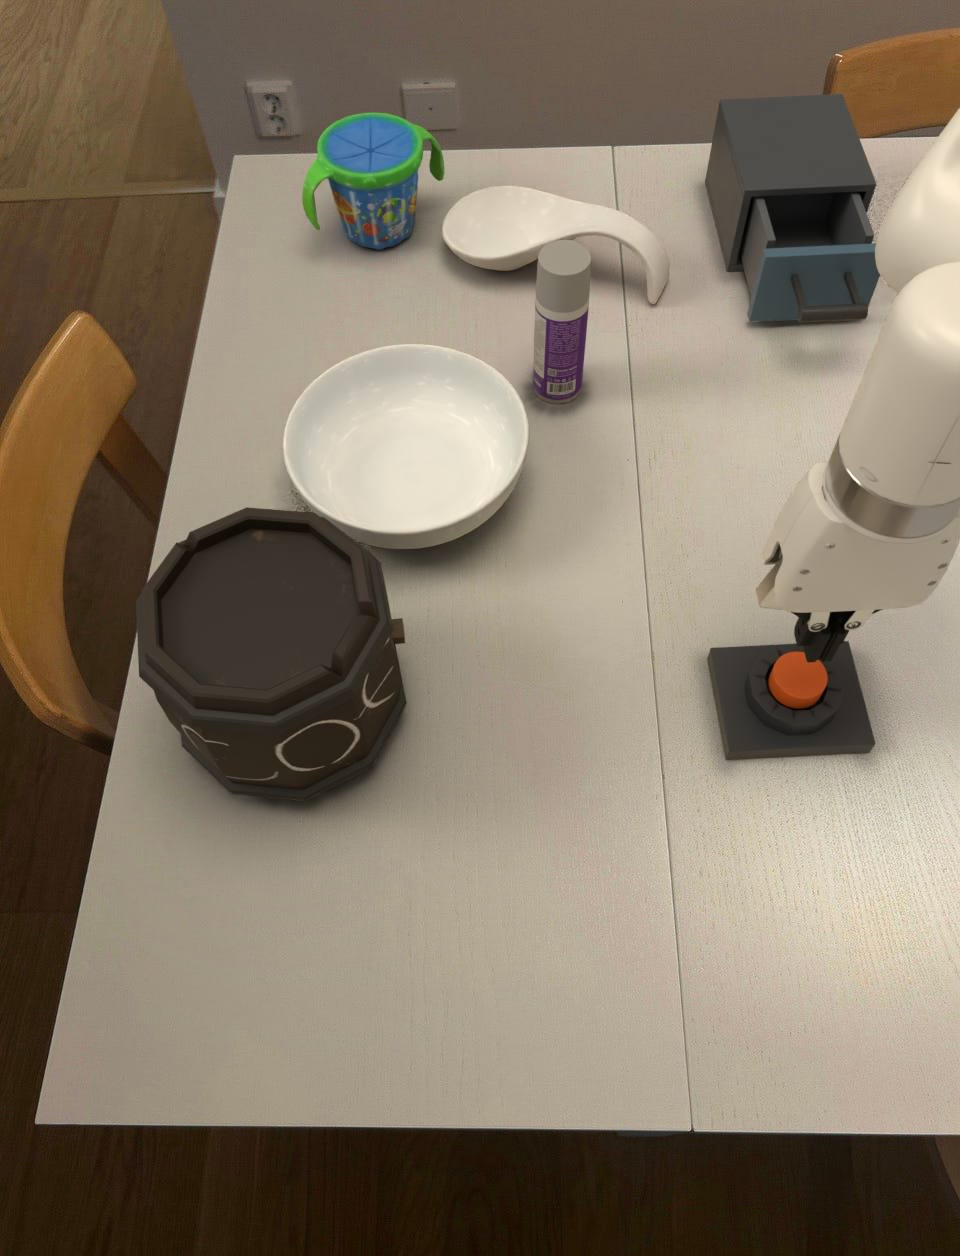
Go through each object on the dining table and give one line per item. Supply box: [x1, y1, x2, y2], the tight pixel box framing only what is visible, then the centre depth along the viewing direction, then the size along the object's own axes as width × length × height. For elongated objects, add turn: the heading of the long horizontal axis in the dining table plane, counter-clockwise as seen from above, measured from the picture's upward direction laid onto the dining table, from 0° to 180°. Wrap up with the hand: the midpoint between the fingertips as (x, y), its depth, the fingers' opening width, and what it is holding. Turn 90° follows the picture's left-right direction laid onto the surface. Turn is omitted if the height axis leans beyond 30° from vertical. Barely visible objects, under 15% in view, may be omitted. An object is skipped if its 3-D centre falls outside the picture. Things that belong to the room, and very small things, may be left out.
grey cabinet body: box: [704, 93, 877, 272], centre depth 109 cm, size 15×13×10 cm
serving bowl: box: [282, 343, 530, 550], centre depth 92 cm, size 21×21×7 cm
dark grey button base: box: [706, 640, 876, 761], centre depth 82 cm, size 11×9×4 cm
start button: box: [769, 652, 828, 709], centre depth 80 cm, size 4×4×2 cm
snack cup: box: [301, 112, 446, 251], centre depth 109 cm, size 16×10×10 cm
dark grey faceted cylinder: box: [135, 507, 407, 802], centre depth 77 cm, size 18×18×16 cm
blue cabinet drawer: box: [739, 192, 881, 323], centre depth 103 cm, size 19×11×8 cm, turn 3°
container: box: [532, 240, 592, 405], centre depth 95 cm, size 5×5×15 cm
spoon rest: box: [441, 185, 670, 305], centre depth 107 cm, size 24×12×7 cm, turn 68°
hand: (813, 644), depth 75 cm, fingers closed
